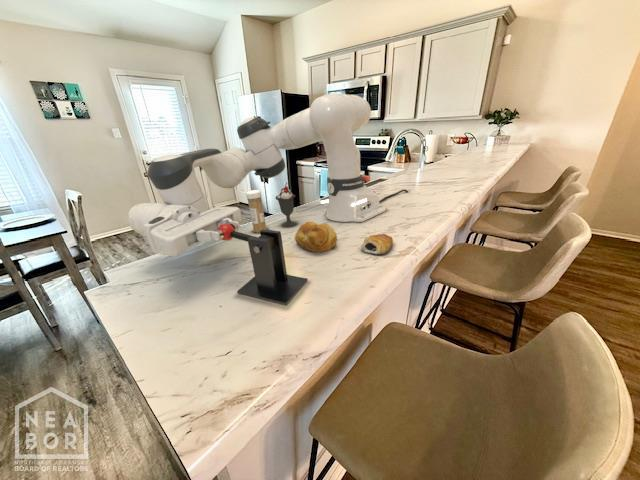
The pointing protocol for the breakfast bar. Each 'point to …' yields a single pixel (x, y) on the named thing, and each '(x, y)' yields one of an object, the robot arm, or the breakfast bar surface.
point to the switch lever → (241, 235)
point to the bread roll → (316, 237)
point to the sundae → (286, 205)
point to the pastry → (377, 244)
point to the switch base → (270, 272)
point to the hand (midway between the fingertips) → (229, 231)
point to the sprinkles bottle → (256, 210)
